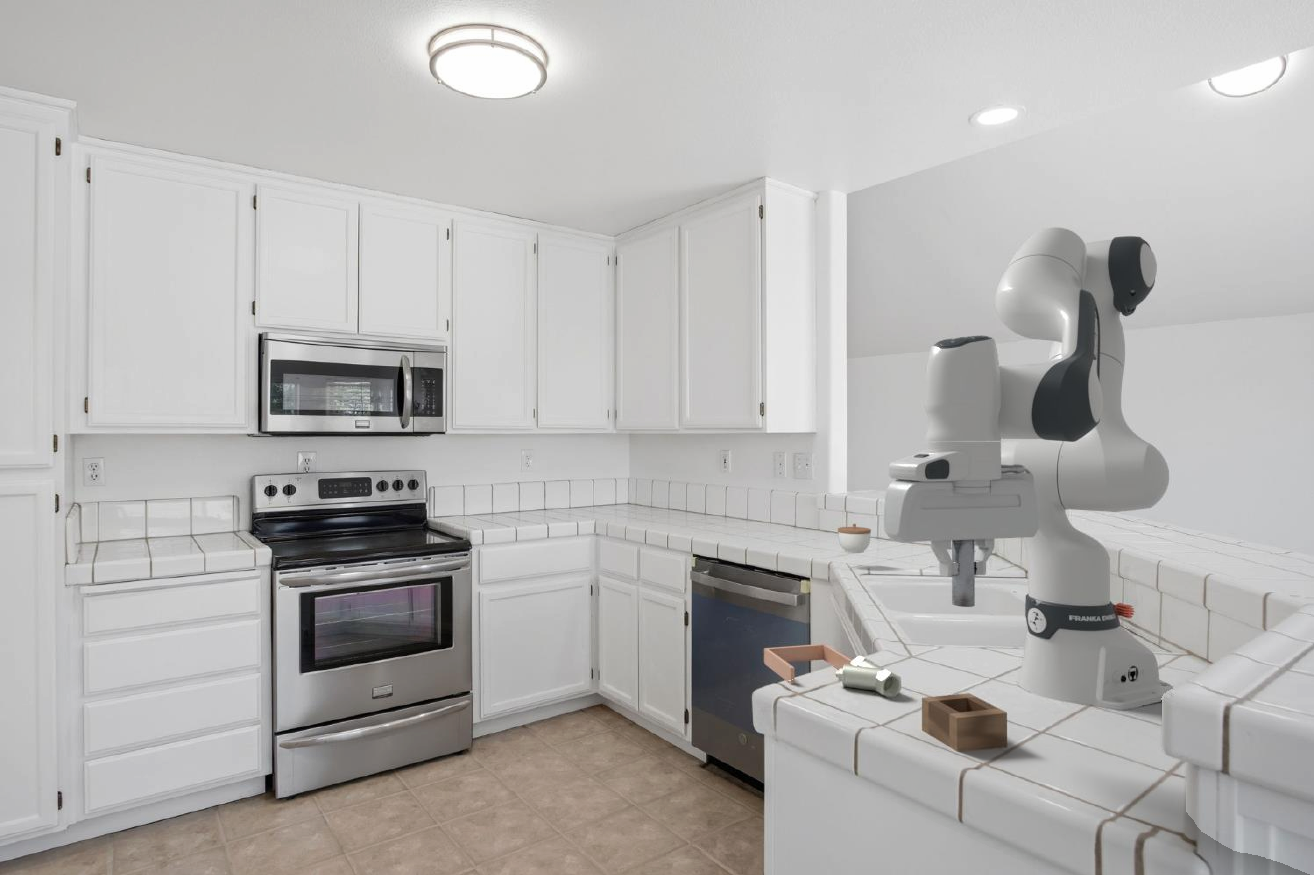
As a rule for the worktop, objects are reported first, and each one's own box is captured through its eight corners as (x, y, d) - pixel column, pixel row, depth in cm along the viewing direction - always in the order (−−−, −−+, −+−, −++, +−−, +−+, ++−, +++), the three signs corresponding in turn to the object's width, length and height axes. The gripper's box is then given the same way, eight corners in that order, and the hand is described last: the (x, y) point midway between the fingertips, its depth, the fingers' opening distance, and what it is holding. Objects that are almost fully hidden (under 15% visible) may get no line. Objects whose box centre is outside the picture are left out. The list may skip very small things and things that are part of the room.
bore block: (969, 727, 95) (969, 693, 95) (1007, 749, 88) (1007, 712, 88) (921, 732, 93) (921, 697, 93) (956, 755, 86) (956, 718, 86)
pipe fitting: (831, 660, 112) (868, 653, 114) (831, 684, 112) (868, 677, 114) (862, 678, 104) (901, 671, 106) (862, 705, 104) (901, 696, 107)
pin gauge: (965, 601, 92) (965, 530, 92) (979, 606, 89) (979, 533, 90) (947, 602, 91) (947, 531, 91) (961, 607, 89) (960, 534, 89)
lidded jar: (850, 548, 251) (850, 521, 251) (877, 552, 243) (877, 524, 243) (831, 551, 244) (831, 523, 244) (858, 555, 236) (858, 526, 236)
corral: (824, 658, 125) (824, 643, 125) (856, 678, 114) (856, 662, 114) (763, 663, 122) (763, 648, 122) (790, 684, 112) (790, 668, 112)
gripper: (1014, 463, 96) (1015, 567, 96) (876, 464, 91) (877, 574, 91) (1051, 464, 90) (1051, 576, 90) (905, 466, 85) (905, 584, 85)
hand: (962, 575), depth 91 cm, fingers closed on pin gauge, 3 cm apart
